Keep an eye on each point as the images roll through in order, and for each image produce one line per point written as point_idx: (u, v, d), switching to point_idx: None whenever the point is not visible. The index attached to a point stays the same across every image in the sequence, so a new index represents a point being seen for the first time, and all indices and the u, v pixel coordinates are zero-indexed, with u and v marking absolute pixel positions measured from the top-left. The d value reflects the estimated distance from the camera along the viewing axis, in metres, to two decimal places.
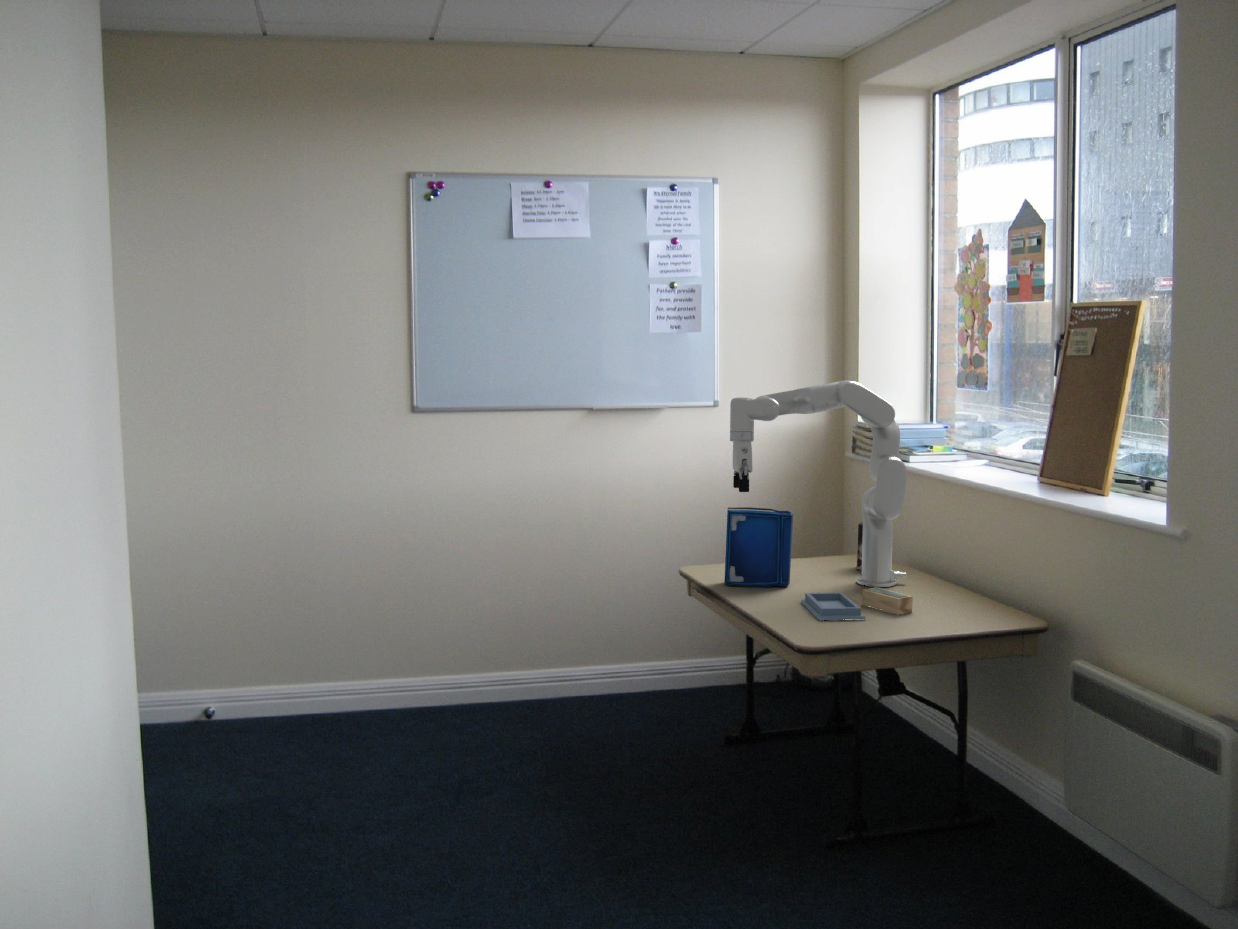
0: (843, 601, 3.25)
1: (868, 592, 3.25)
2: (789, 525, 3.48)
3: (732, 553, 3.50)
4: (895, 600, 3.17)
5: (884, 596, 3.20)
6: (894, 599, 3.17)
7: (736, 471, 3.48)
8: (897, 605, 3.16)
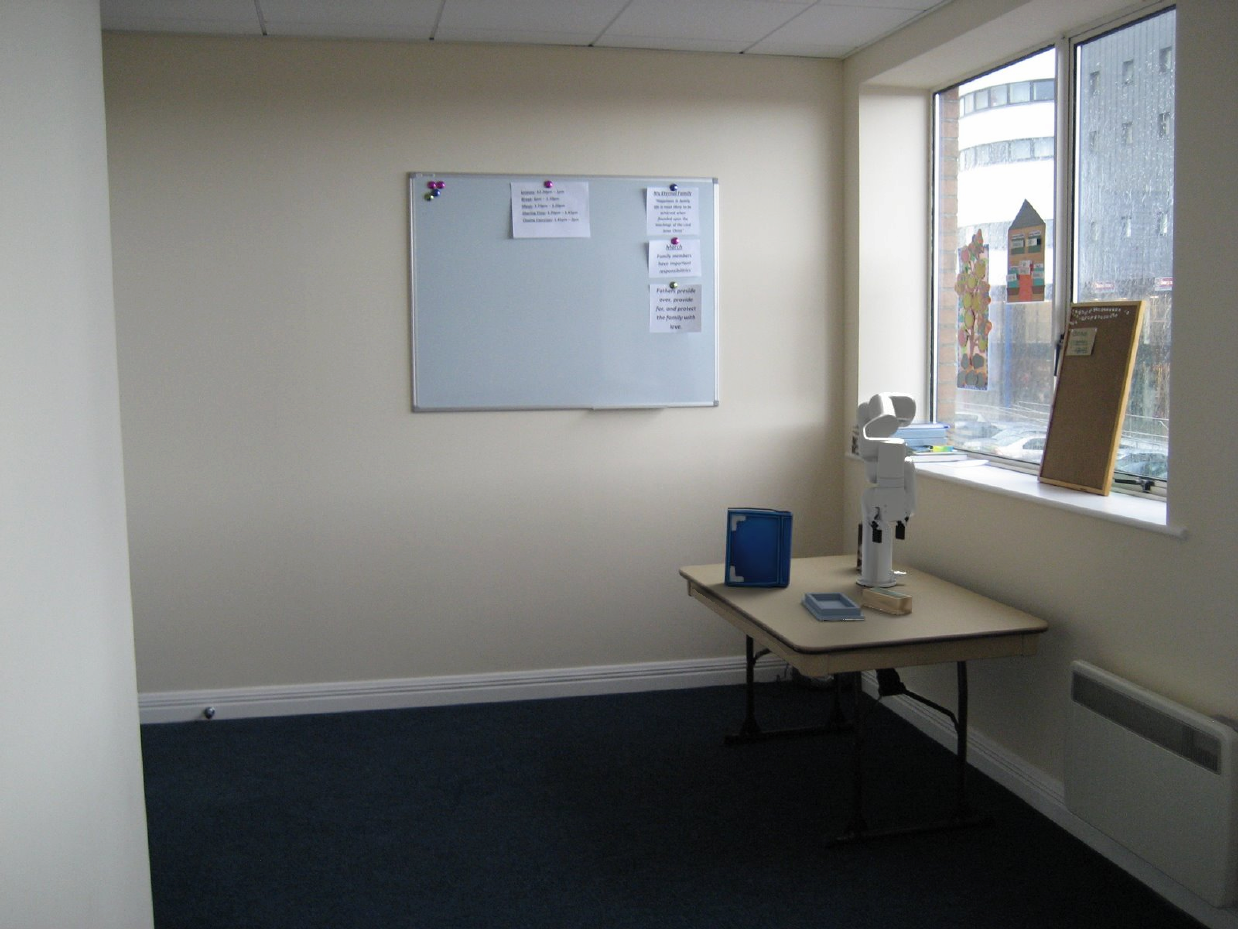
0: (843, 601, 3.25)
1: (868, 592, 3.26)
2: (789, 525, 3.48)
3: (732, 553, 3.50)
4: (894, 600, 3.17)
5: (884, 596, 3.20)
6: (893, 599, 3.17)
7: (897, 520, 3.20)
8: (896, 605, 3.16)
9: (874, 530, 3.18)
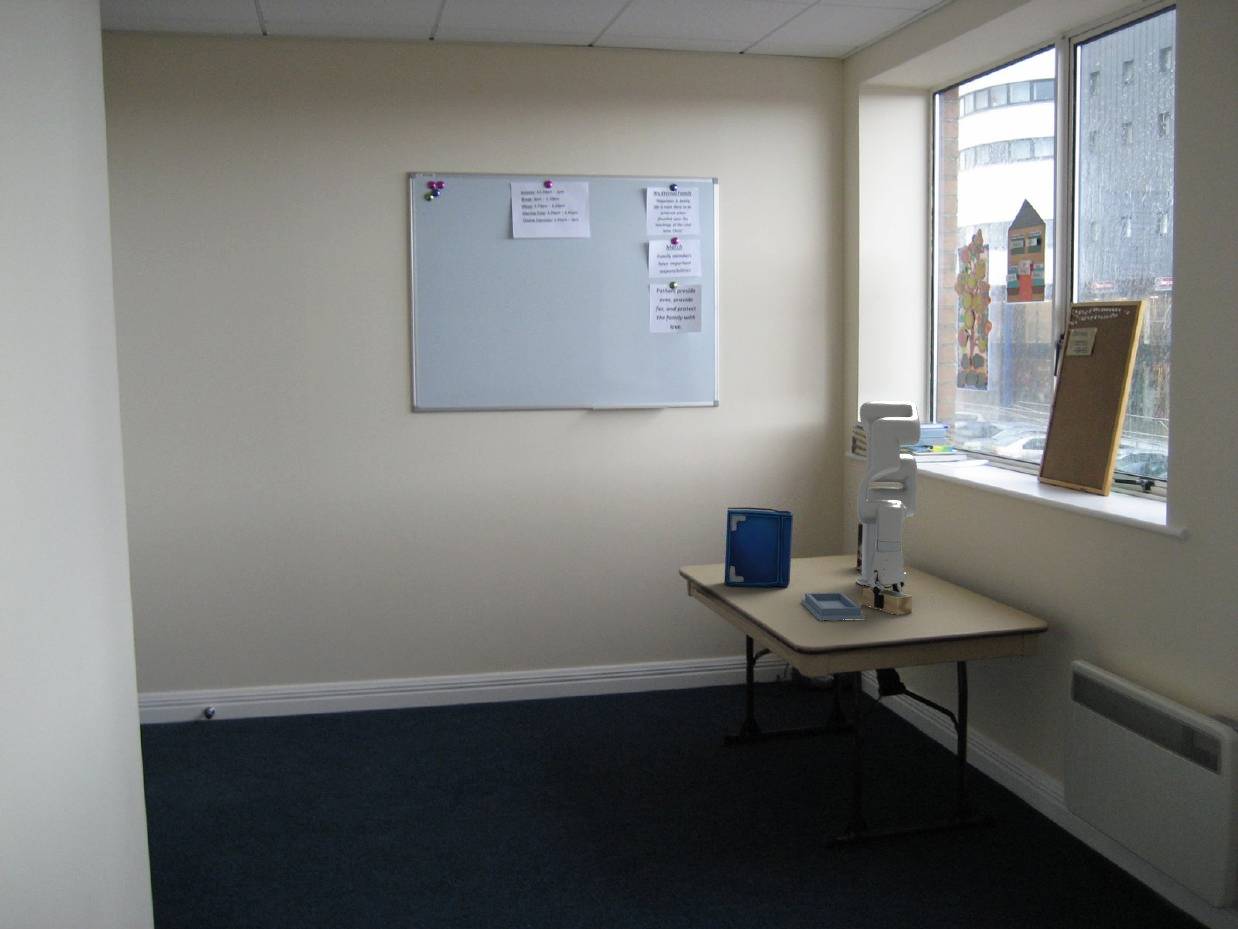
0: (843, 601, 3.25)
1: (868, 591, 3.25)
2: (789, 525, 3.48)
3: (732, 553, 3.50)
4: (894, 599, 3.16)
5: None
6: (893, 598, 3.17)
7: (896, 583, 3.22)
8: (895, 605, 3.16)
9: (876, 595, 3.21)
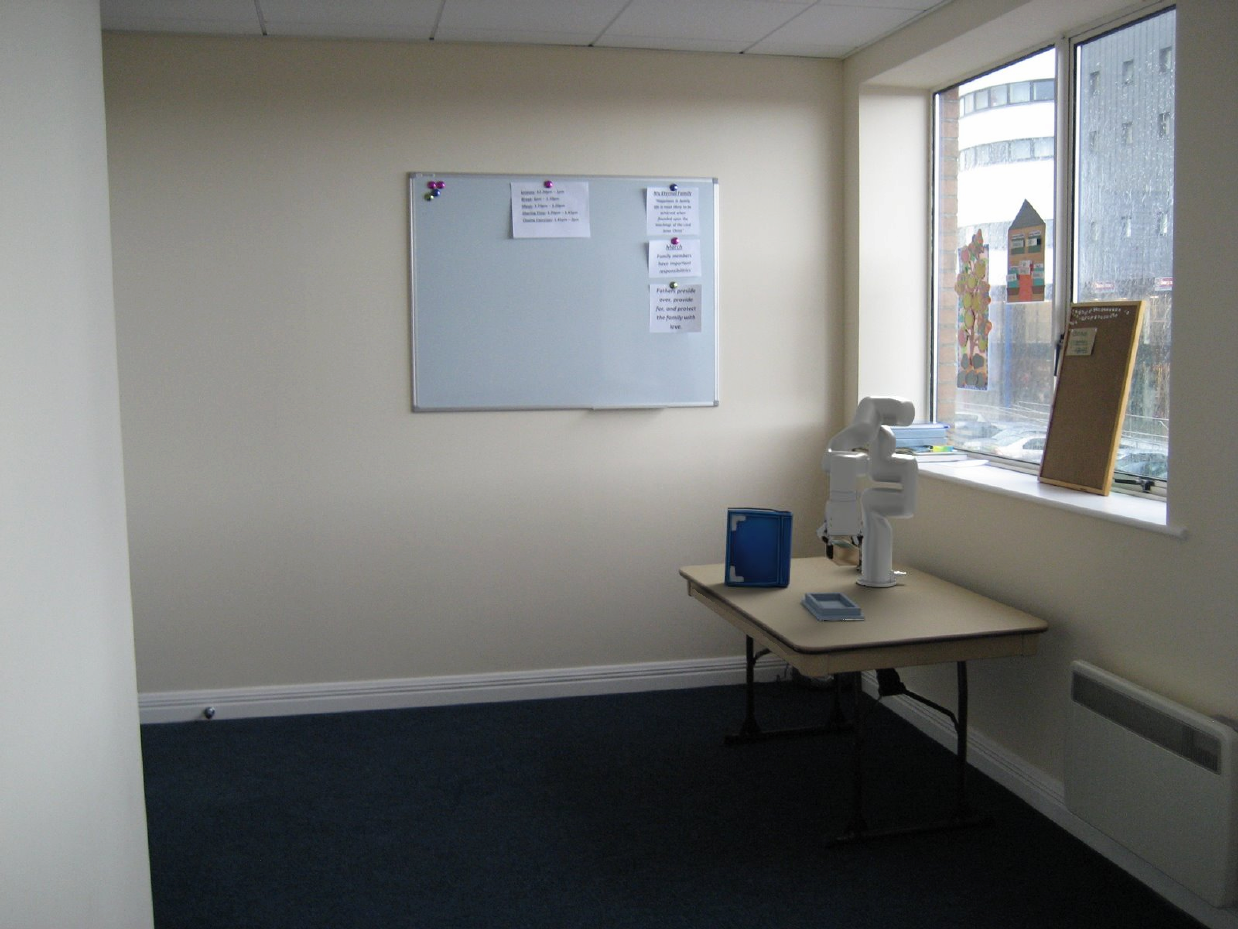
0: (843, 601, 3.25)
1: None
2: (789, 525, 3.48)
3: (732, 553, 3.50)
4: (837, 550, 3.12)
5: (833, 546, 3.17)
6: (837, 549, 3.13)
7: (849, 535, 3.17)
8: (838, 555, 3.12)
9: (826, 545, 3.18)
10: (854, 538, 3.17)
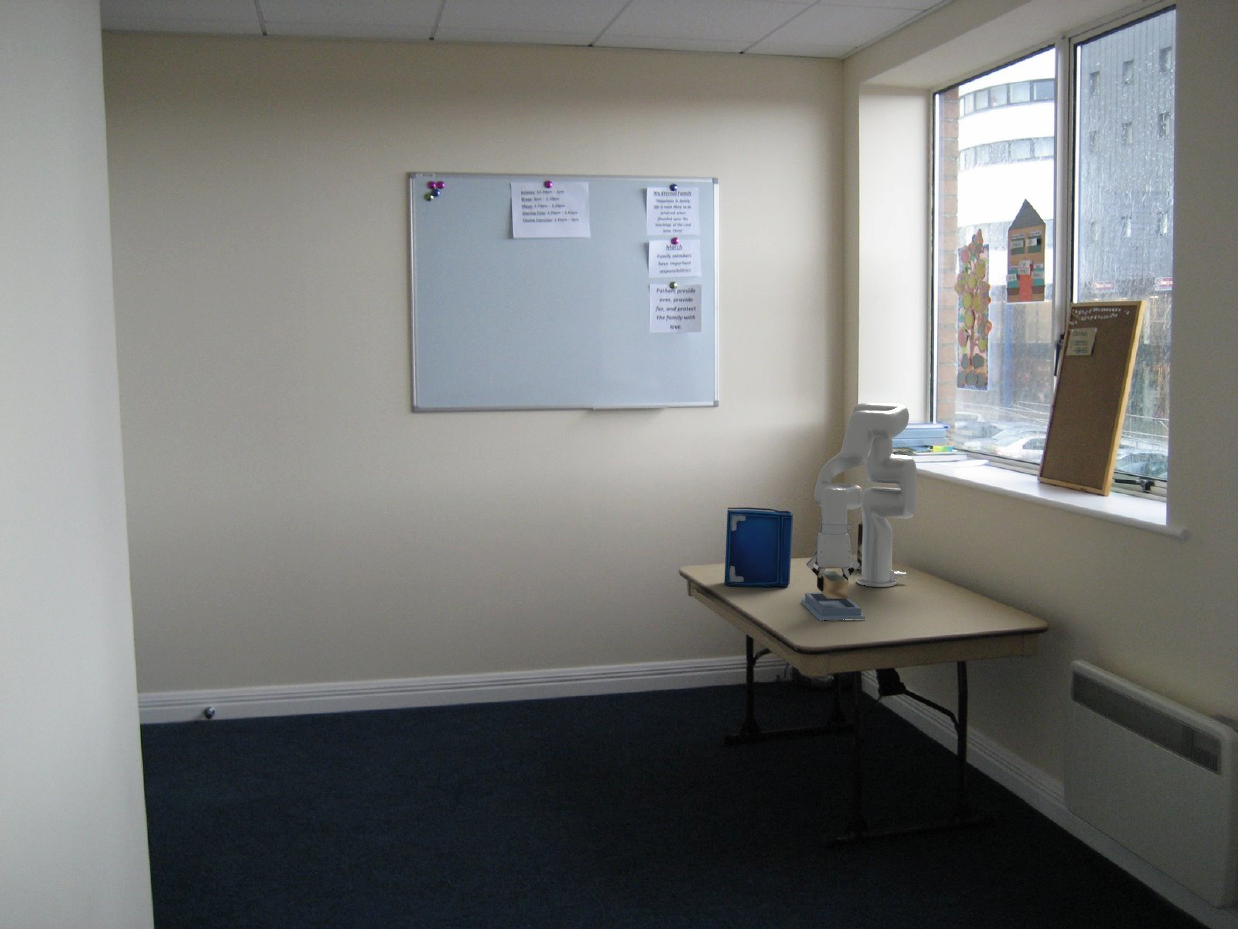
0: (843, 601, 3.25)
1: None
2: (789, 525, 3.48)
3: (732, 553, 3.50)
4: (826, 582, 3.13)
5: None
6: (826, 581, 3.14)
7: (840, 567, 3.17)
8: (827, 588, 3.13)
9: (817, 578, 3.19)
10: (845, 570, 3.18)
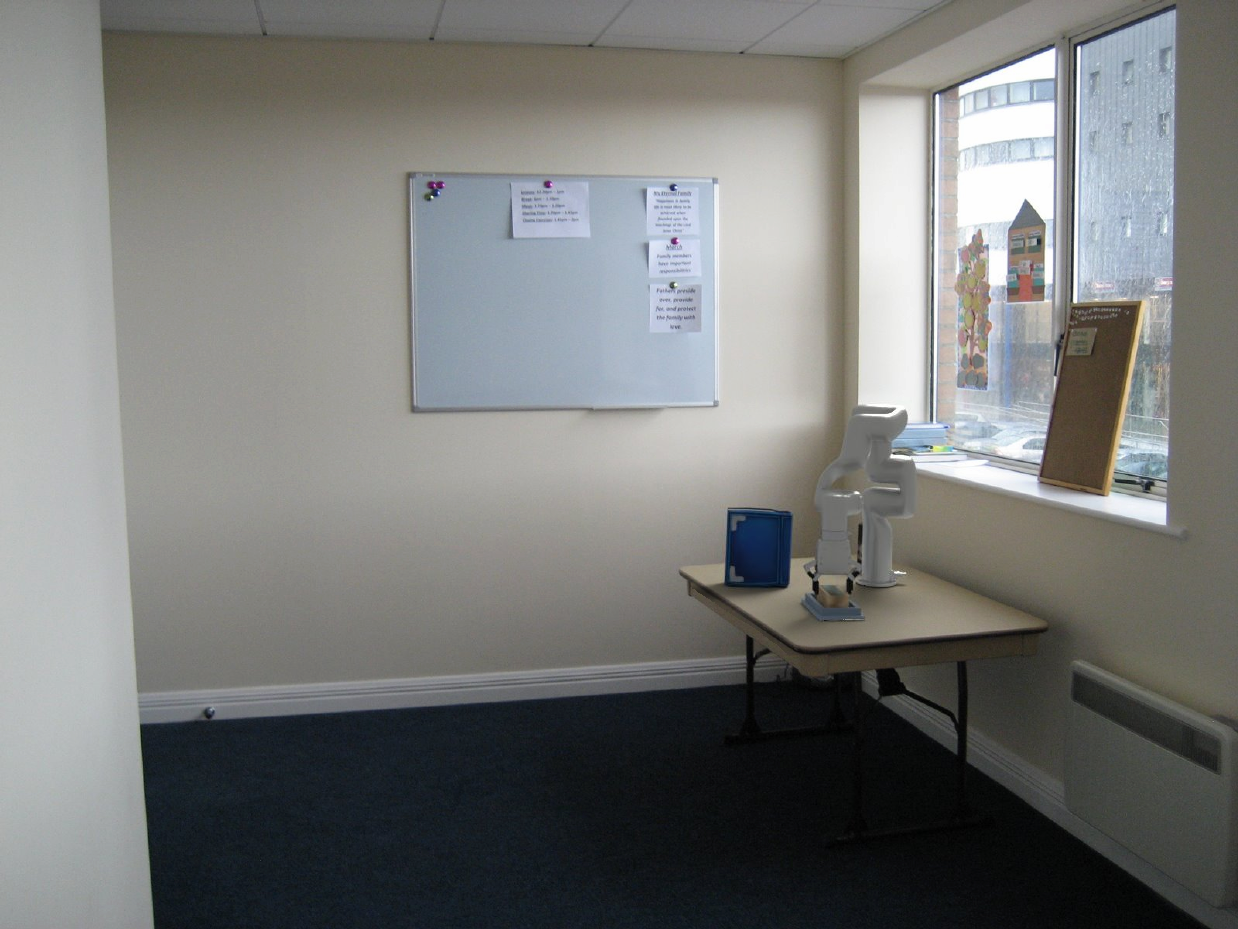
0: None
1: None
2: (789, 525, 3.48)
3: (732, 553, 3.50)
4: (827, 597, 3.14)
5: (823, 592, 3.18)
6: (827, 596, 3.14)
7: (840, 574, 3.18)
8: (827, 602, 3.13)
9: (812, 581, 3.19)
10: (848, 575, 3.18)
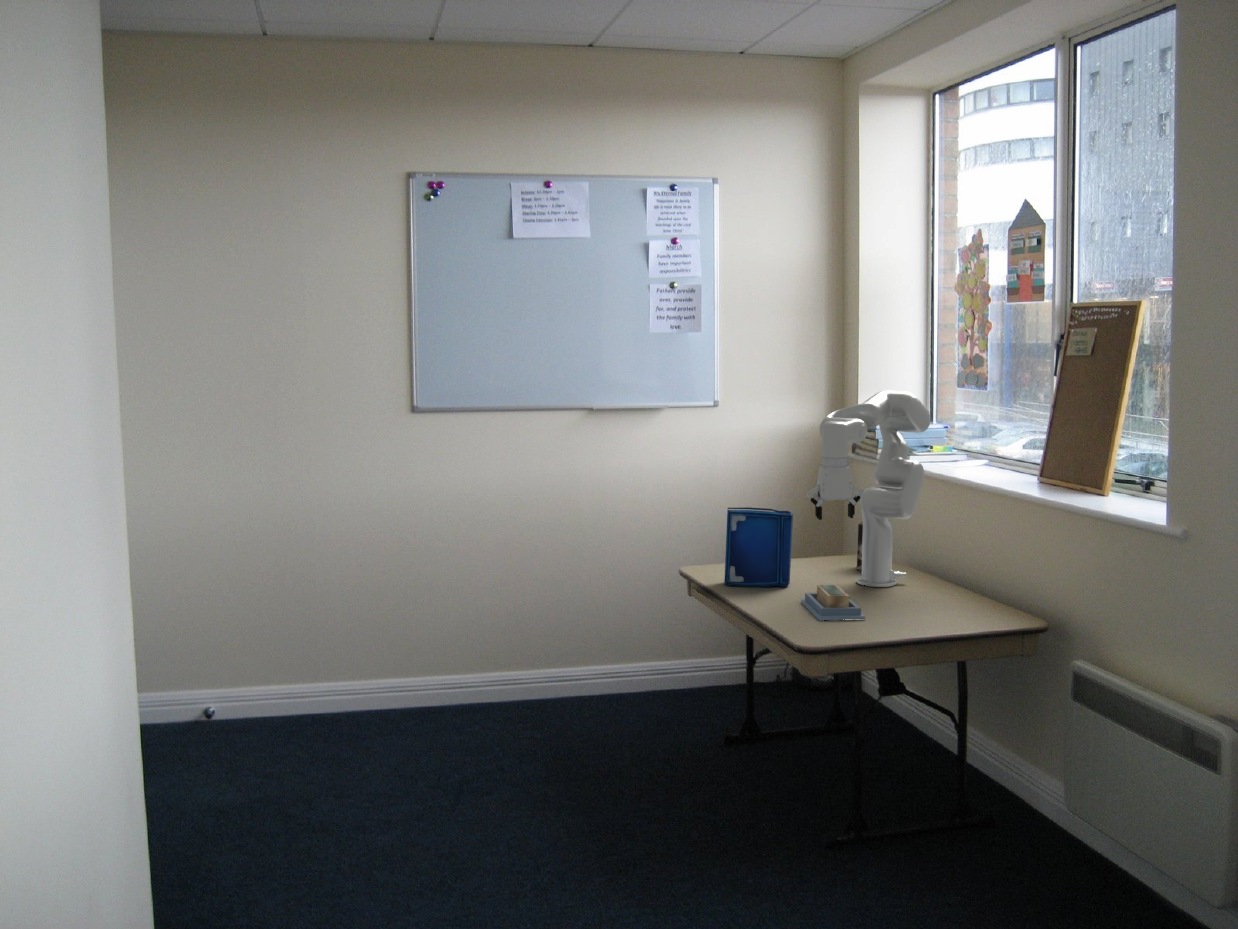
0: None
1: (818, 588, 3.24)
2: (789, 525, 3.48)
3: (732, 553, 3.50)
4: (827, 597, 3.14)
5: (823, 592, 3.18)
6: (827, 596, 3.14)
7: (842, 499, 3.29)
8: (827, 602, 3.13)
9: (815, 507, 3.31)
10: (850, 500, 3.30)
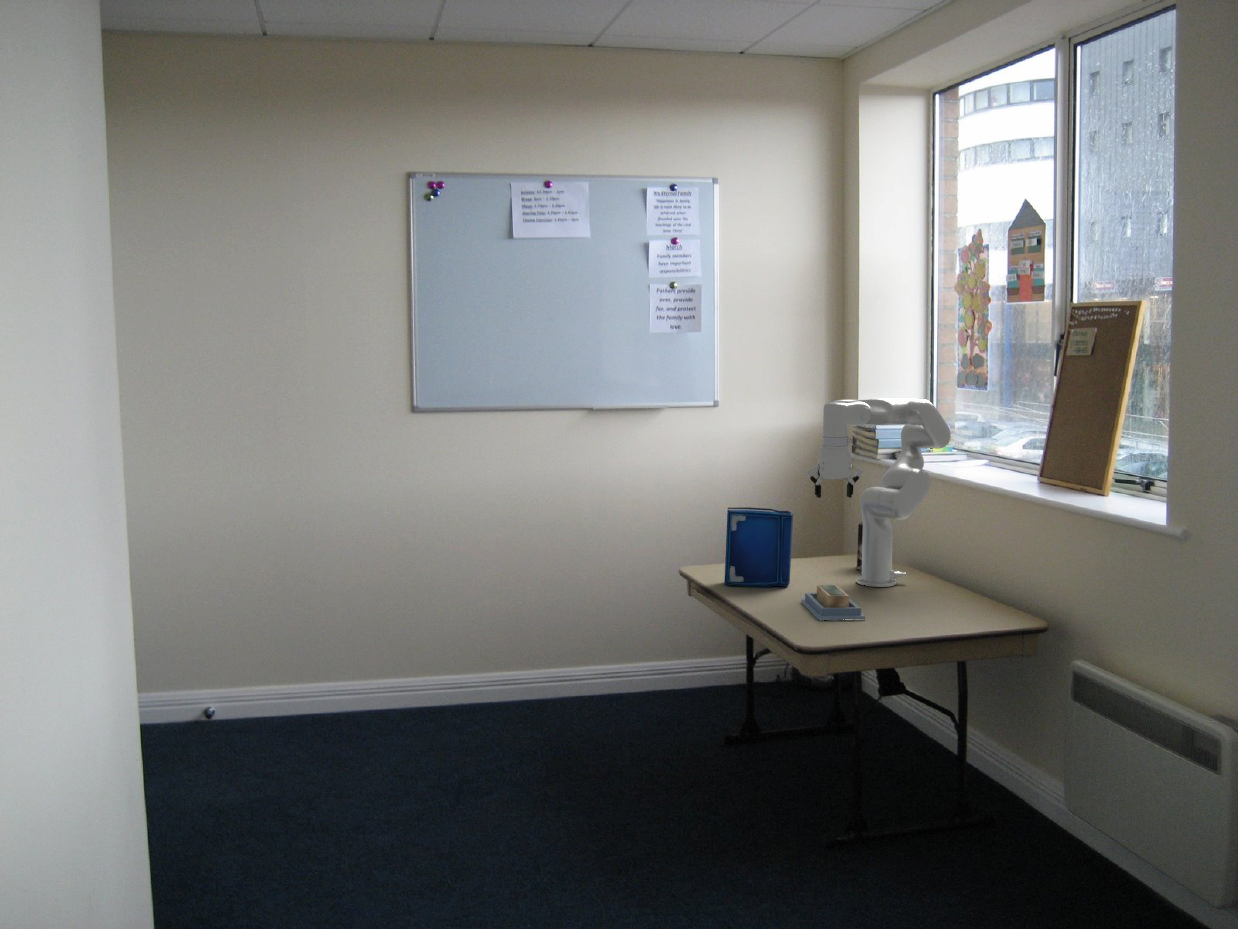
0: None
1: (818, 588, 3.24)
2: (789, 525, 3.48)
3: (732, 553, 3.50)
4: (827, 597, 3.14)
5: (823, 592, 3.18)
6: (827, 596, 3.14)
7: (841, 478, 3.38)
8: (827, 602, 3.13)
9: (815, 485, 3.40)
10: (849, 479, 3.39)
